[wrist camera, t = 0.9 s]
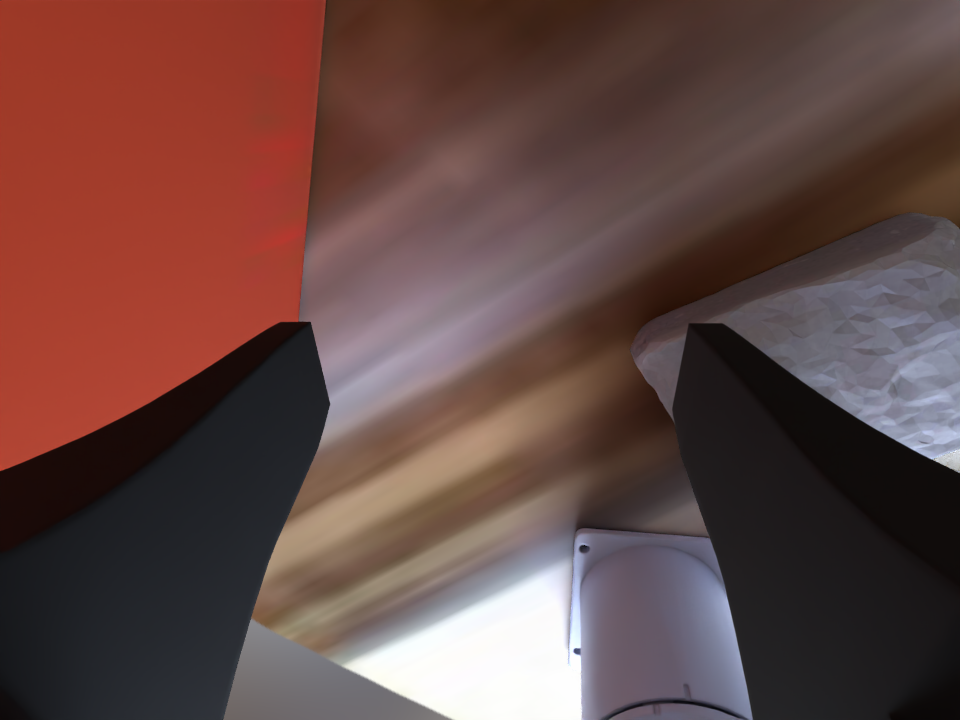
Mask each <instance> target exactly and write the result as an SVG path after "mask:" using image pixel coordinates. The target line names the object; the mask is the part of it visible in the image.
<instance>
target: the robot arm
mask: <svg viewBox="0 0 960 720" xmlns="http://www.w3.org/2000/svg"><path fill="white" fill-rule="evenodd" d="M329 406H330V402H329V397H328V393H327V389H326V385H325V380H324V376H323V372H322V368H321V364H320V359H319V355H318V351H317V347H316V342H315V338H314V334H313V330H312V325H311V322H279V323H277V324H275V325H273V326H271V327H270V328H268V329H266V330H265V331H263V332H261V333H260V334H258V335H257V336H255V337H253V338H252V339H250V340H249V341H247V342H246V343H244V344H243V345H241V346H240V347H238V348H237V349H235V350H234V351H232V352H230V353H229V354H227V355H226V356H224V357H223V358H221V359H220V360H218V361H217V362H215V363H214V364H212V365H211V366H209V367H207V368H206V369H204V370H203V371H201V372H200V373H198V374H197V375H195V376H193V377H192V378H190V379H188V380H187V381H185V382H183V383H182V384H180V385H178V386H177V387H175V388H173V389H172V390H170V391H168V392H167V393H165V394H163V395H162V396H160V397H158V398H157V399H155V400H153V401H152V402H150V403H148V404H146V405H144V406H143V407H141V408H139V409H137V410H135V411H133V412H131V413H130V414H128V415H126V416H124V417H122V418H120V419H118V420H116V421H114V422H112V423H110V424H108V425H106V426H104V427H102V428H100V429H98V430H96V431H94V432H92V433H90V434H87V435H85V436H83V437H81V438H79V439H77V440H74V441H72V442H69V443H67V444H65V445H62V446H60V447H58V448H55V449H53V450H51V451H48V452H46V453H44V454H41V455H39V456H36V457H34V458H32V459H29V460H27V461H25V462H22V463H20V464H17V465H15V466H12V467H10V468H7V469H4V470H2V471H0V720H223V718H224V714H225V710H226V706H227V703H228V699H229V695H230V691H231V687H232V684H233V680H234V676H235V672H236V668H237V664H238V661H239V657H240V654H241V651H242V647H243V644H244V640H245V637H246V633H247V630H248V626H249V623H250V620H251V616H252V613H253V609H254V606H255V603H256V600H257V597H258V594H259V591H260V587H261V584H262V581H263V578H264V575H265V572H266V569H267V566H268V563H269V560H270V558H271V555H272V552H273V550H274V547H275V545H276V542H277V540H278V538H279V535H280V533H281V531H282V529H283V526H284V524H285V522H286V520H287V517H288V515H289V513H290V511H291V508H292V506H293V504H294V502H295V499H296V497H297V495H298V493H299V490H300V488H301V486H302V484H303V481H304V479H305V477H306V475H307V472H308V470H309V468H310V465H311V463H312V461H313V458H314V456H315V454H316V451H317V449H318V446H319V443H320V440H321V436H322V433H323V429H324V426H325V422H326V418H327V414H328V410H329ZM672 412H673V417H674V423H675V429H676V434H677V439H678V444H679V449H680V453H681V457H682V460H683V463H684V466H685V469H686V472H687V475H688V477H689V480H690V483H691V486H692V489H693V492H694V495H695V498H696V501H697V503H698V506H699V509H700V512H701V515H702V518H703V520H704V523H705V526H706V529H707V532H708V535H709V538H704V537H691V536H679V535H666V534H653V533H640V532H627V531H614V530H602V529H589V528H582V529H579V530H578V531H577V532H576V533H575V541H574V560H573V580H572V599H571V618H570V637H569V656H568V664H569V666H570V667H571V668H572V669H574V670H578V671H581V704H582V720H960V473H959V472H956V471H954V470H952V469H950V468H948V467H946V466H944V465H942V464H940V463H938V462H936V461H934V460H932V459H930V458H928V457H926V456H924V455H922V454H920V453H918V452H916V451H914V450H913V449H911V448H909V447H907V446H905V445H904V444H902V443H900V442H898V441H896V440H894V439H893V438H891V437H889V436H887V435H885V434H884V433H882V432H880V431H878V430H876V429H875V428H873V427H871V426H870V425H868V424H866V423H865V422H863V421H861V420H860V419H858V418H856V417H855V416H853V415H852V414H850V413H849V412H847V411H846V410H844V409H842V408H841V407H839V406H838V405H836V404H835V403H833V402H832V401H830V400H829V399H827V398H825V397H824V396H823V395H821V394H820V393H818V392H817V391H815V390H814V389H812V388H811V387H809V386H808V385H807V384H805V383H804V382H802V381H801V380H800V379H798V378H797V377H795V376H794V375H793V374H791V373H790V372H789V371H787V370H786V369H785V368H783V367H782V366H780V365H779V364H778V363H776V362H775V361H774V360H772V359H771V358H770V357H768V356H767V355H766V354H765V353H763V352H762V351H761V350H759V349H758V348H757V347H755V346H754V345H753V344H751V343H750V342H749V341H747V340H746V339H745V338H743V337H742V336H741V335H739V334H738V333H737V332H735V331H734V330H732V329H731V328H729V327H728V326H726V325H725V324H723V323H689V324H688V329H687V335H686V340H685V345H684V350H683V355H682V360H681V365H680V370H679V375H678V381H677V386H676V391H675V396H674V401H673V406H672ZM581 545H588V547H587V548H583V547H581ZM577 648H581V649H577Z"/></svg>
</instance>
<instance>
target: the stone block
mask: <svg viewBox="0 0 960 720" xmlns="http://www.w3.org/2000/svg"><path fill="white" fill-rule="evenodd" d="M689 323H723V324H725V325H726V326H728V327H729V328H731V329H732V330H734V331H735V332H737V333H738V334H739V335H741V336H742V337H743V338H745V339H746V340H747V341H749V342H750V343H751V344H753V345H754V346H755V347H757V348H758V349H759V350H761V351H762V352H763V353H765V354H766V355H767V356H768V357H770V358H771V359H772V360H774V361H775V362H776V363H778V364H779V365H780V366H782V367H783V368H785V369H786V370H787V371H789V372H790V373H791V374H793V375H794V376H795V377H797V378H798V379H800V380H801V381H802V382H804V383H805V384H807V385H808V386H809V387H811V388H812V389H814V390H815V391H817V392H818V393H820V394H821V395H823V396H824V397H825V398H827V399H829V400H830V401H832V402H833V403H835V404H836V405H838V406H839V407H841V408H842V409H844V410H846V411H847V412H849V413H850V414H852V415H853V416H855V417H856V418H858V419H860V420H861V421H863V422H865V423H866V424H868V425H870V426H871V427H873V428H875V429H876V430H878V431H880V432H882V433H884V434H885V435H887V436H889V437H891V438H893V439H894V440H896V441H898V442H900V443H902V444H904V445H905V446H907V447H909V448H911V449H913V450H914V451H916V452H918V453H920V454H922V455H924V456H926V457H928V458H930V459H934V458H936V457H939V456H941V455H944V454H947V453H950V452H953V451H955V450H958V449H960V229H959V228H958V227H957V226H956V225H955V224H954V223H952V222H951V221H950V220H948V219H946V218H944V217H935V216H934V217H931V216H928V215H925V214H922V213H905V214H901V215H897V216H895V217H892V218H890V219H887V220H885V221H882V222H879V223H877V224H874V225H872V226H870V227H867V228H865V229H863V230H860V231H858V232H856V233H854V234H851V235H849V236H847V237H844V238H842V239H840V240H837V241H835V242H833V243H830V244H828V245H826V246H823V247H821V248H819V249H817V250H814V251H812V252H810V253H807V254H805V255H803V256H800V257H798V258H795V259H793V260H791V261H788V262H786V263H783V264H781V265H779V266H776V267H774V268H772V269H770V270H768V271H766V272H763V273H761V274H758V275H756V276H754V277H751V278H749V279H746V280H744V281H741V282H739V283H737V284H734V285H732V286H730V287H727V288H725V289H723V290H721V291H719V292H717V293H715V294H714V295H710V296H707V297H705V298H702V299H700V300H698V301H695V302H693V303H690V304H688V305H685V306H683V307H680V308H678V309H675V310H673V311H671V312H669V313H666V314H664V315H662V316H659V317H657V318H654V319H653V320H651V321H649V322H648V323H647V324H645V325H644V326H643V327H642V328H641V329H640V330H639V331H638V333H637V335H636V337H635V339H634V341H633V343H632V345H631V347H630V352H631V354H632V357H633V360H634V362H635V364H636V366H637V367H638V369H639V370H640V371H641V373H642V374H643V376H644V378H645V379H646V381H647V383H649V384H650V385H651V386H652V387H653V388H654V389H655V391H656V392H657V394H658V397H659V399H660V401H661V402H662V403H663V405H664V407H665V409H666V410H667V412H668V413H669V415H670V416H671V418H672V420H673V421H674V417H673V412H672V406H673V401H674V396H675V391H676V386H677V381H678V375H679V370H680V365H681V360H682V355H683V350H684V345H685V340H686V335H687V329H688V324H689Z"/></svg>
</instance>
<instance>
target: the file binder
mask: <svg viewBox="0 0 960 720" xmlns="http://www.w3.org/2000/svg"><path fill="white" fill-rule="evenodd" d="M325 7H326V0H0V471H2V470H4V469H7V468H10V467H12V466H15V465H17V464H20V463H22V462H25V461H27V460H29V459H32V458H34V457H36V456H39V455H41V454H44V453H46V452H48V451H51V450H53V449H55V448H58V447H60V446H62V445H65V444H67V443H69V442H72V441H74V440H77V439H79V438H81V437H83V436H85V435H87V434H90V433H92V432H94V431H96V430H98V429H100V428H102V427H104V426H106V425H108V424H110V423H112V422H114V421H116V420H118V419H120V418H122V417H124V416H126V415H128V414H130V413H131V412H133V411H135V410H137V409H139V408H141V407H143V406H144V405H146V404H148V403H150V402H152V401H153V400H155V399H157V398H158V397H160V396H162V395H163V394H165V393H167V392H168V391H170V390H172V389H173V388H175V387H177V386H178V385H180V384H182V383H183V382H185V381H187V380H188V379H190V378H192V377H193V376H195V375H197V374H198V373H200V372H201V371H203V370H204V369H206V368H207V367H209V366H211V365H212V364H214V363H215V362H217V361H218V360H220V359H221V358H223V357H224V356H226V355H227V354H229V353H230V352H232V351H234V350H235V349H237V348H238V347H240V346H241V345H243V344H244V343H246V342H247V341H249V340H250V339H252V338H253V337H255V336H257V335H258V334H260V333H261V332H263V331H265V330H266V329H268V328H270V327H271V326H273V325H275V324H277V323H279V322H298V318H299V307H300V295H301V284H302V272H303V261H304V249H305V238H306V226H307V215H308V203H309V192H310V180H311V169H312V157H313V145H314V134H315V122H316V111H317V99H318V88H319V76H320V65H321V53H322V42H323V30H324V19H325Z"/></svg>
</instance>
